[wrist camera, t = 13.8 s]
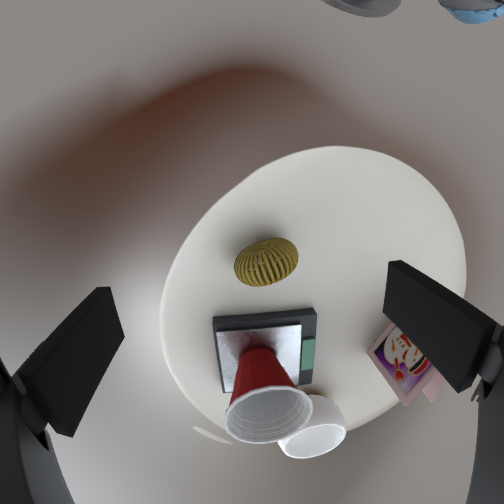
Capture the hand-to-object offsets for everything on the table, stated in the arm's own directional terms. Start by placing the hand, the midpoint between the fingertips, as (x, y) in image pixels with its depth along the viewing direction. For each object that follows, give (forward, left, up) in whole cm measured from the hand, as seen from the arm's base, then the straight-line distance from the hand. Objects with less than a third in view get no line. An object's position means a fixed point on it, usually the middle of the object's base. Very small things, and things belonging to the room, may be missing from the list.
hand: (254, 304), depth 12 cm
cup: (+36, +10, -25) cm, 45 cm away
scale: (+21, +3, -25) cm, 33 cm away
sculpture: (+5, +3, -25) cm, 26 cm away
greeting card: (+22, +27, -25) cm, 43 cm away
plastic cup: (+21, +2, -22) cm, 31 cm away
